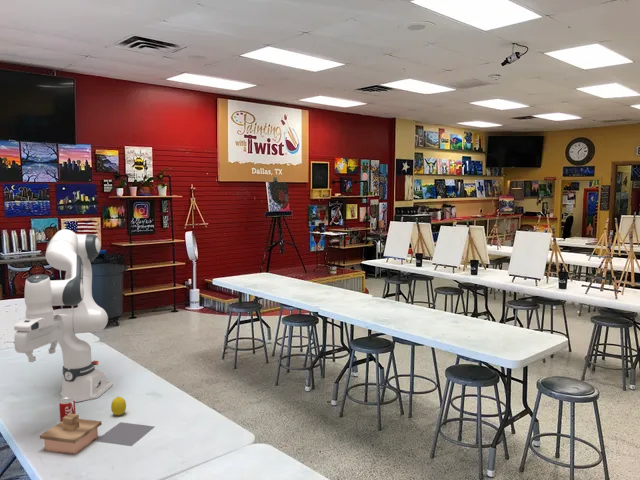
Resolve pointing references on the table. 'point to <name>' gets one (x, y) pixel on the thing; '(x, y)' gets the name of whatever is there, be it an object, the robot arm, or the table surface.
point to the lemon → (118, 406)
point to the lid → (70, 429)
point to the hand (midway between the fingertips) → (42, 357)
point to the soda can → (66, 407)
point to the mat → (125, 434)
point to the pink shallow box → (71, 444)
